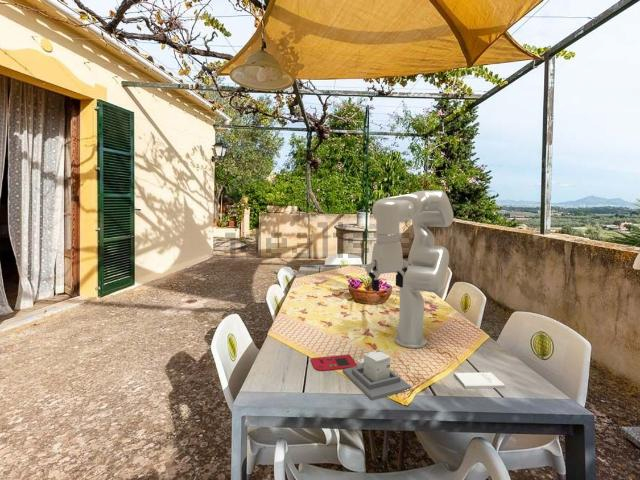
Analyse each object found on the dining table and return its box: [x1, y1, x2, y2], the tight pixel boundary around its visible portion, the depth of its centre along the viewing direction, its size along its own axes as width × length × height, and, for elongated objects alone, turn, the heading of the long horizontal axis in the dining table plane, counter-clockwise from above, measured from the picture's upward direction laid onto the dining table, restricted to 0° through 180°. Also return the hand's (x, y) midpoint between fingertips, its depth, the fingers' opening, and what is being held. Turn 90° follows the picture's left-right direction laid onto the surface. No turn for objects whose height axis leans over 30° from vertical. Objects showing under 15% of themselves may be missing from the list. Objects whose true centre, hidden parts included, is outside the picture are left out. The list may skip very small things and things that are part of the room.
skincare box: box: [363, 350, 391, 382], centre depth 109 cm, size 6×6×7 cm
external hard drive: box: [453, 372, 505, 390], centre depth 109 cm, size 2×8×12 cm
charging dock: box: [342, 358, 412, 401], centre depth 109 cm, size 18×14×4 cm
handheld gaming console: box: [310, 354, 357, 372], centre depth 121 cm, size 10×1×15 cm
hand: (387, 288), depth 116 cm, fingers open, 9 cm apart
